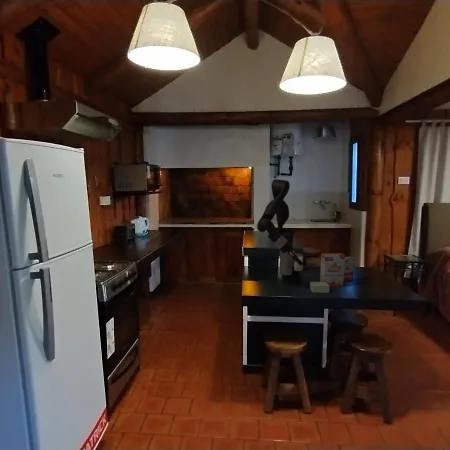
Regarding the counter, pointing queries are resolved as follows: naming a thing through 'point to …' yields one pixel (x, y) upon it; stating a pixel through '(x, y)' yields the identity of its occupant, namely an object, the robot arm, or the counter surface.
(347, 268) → the candy bar box
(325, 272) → the cracker box
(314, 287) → the base
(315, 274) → the counter surface
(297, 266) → the jar
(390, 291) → the counter surface
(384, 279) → the counter surface
